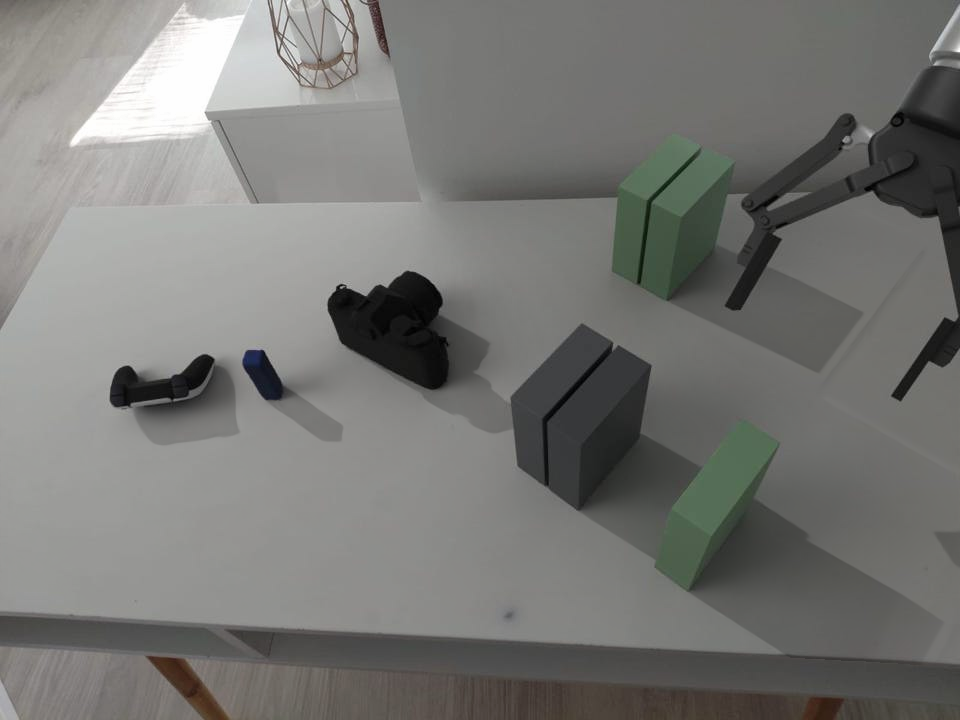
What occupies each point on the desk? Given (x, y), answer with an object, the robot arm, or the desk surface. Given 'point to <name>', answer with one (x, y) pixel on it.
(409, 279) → the film camera
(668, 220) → the green book
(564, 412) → the grey book
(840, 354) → the desk surface
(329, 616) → the desk surface
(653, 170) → the green book
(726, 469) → the sage book
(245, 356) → the blue rectangular bar
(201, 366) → the gaming controller
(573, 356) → the grey book
